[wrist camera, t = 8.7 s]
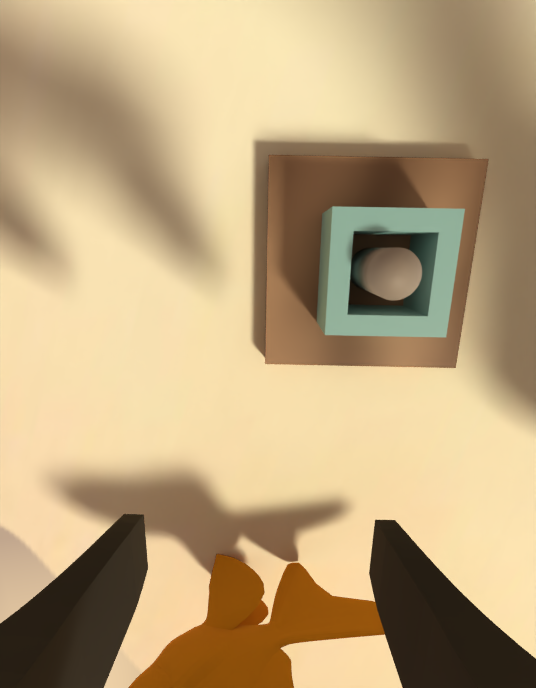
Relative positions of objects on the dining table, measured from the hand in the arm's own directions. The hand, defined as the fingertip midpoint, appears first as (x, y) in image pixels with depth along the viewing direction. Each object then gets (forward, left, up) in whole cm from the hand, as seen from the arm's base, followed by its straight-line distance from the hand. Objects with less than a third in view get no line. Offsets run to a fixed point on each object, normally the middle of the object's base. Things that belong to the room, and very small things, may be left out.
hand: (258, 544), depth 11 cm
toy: (-1, +11, -10) cm, 15 cm away
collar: (-5, -8, -9) cm, 13 cm away
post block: (-5, -8, -10) cm, 14 cm away
